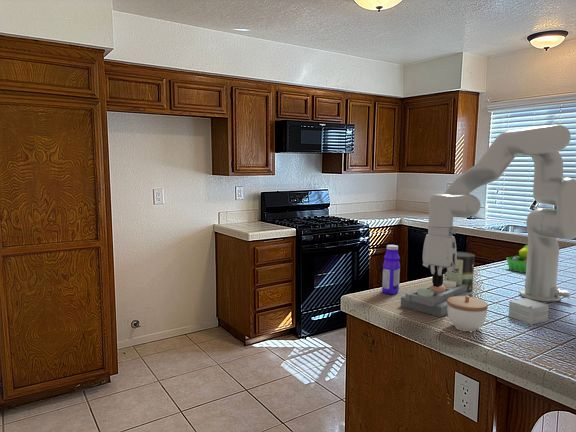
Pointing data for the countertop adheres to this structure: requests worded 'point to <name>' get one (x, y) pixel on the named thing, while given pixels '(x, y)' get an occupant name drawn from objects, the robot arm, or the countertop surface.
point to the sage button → (425, 292)
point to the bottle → (391, 270)
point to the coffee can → (463, 270)
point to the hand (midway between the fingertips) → (437, 285)
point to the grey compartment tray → (433, 300)
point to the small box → (528, 311)
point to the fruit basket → (519, 260)
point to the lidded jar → (466, 312)
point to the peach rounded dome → (437, 288)
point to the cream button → (449, 283)
